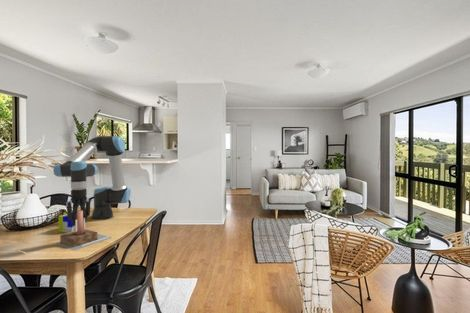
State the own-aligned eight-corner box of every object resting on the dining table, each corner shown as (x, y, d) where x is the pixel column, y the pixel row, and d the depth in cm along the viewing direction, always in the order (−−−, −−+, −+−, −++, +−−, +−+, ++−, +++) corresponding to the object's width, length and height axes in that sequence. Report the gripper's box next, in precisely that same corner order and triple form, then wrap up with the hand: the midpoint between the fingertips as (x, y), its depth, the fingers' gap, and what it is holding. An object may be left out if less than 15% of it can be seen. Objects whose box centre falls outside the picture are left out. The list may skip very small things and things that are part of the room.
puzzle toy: (71, 232, 160) (71, 217, 160) (58, 231, 162) (58, 216, 162) (84, 228, 170) (84, 213, 170) (71, 227, 172) (71, 212, 172)
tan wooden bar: (80, 237, 145) (80, 209, 145) (84, 238, 143) (84, 210, 143) (73, 239, 142) (73, 211, 141) (77, 240, 140) (77, 211, 140)
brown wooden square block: (83, 236, 151) (83, 228, 151) (97, 239, 145) (97, 232, 145) (60, 243, 140) (60, 235, 140) (74, 247, 134) (74, 239, 134)
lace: (107, 237, 149) (107, 236, 149) (108, 237, 149) (108, 236, 149) (80, 246, 135) (80, 245, 135) (81, 246, 135) (81, 245, 135)
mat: (91, 233, 158) (91, 232, 158) (112, 238, 149) (112, 237, 149) (52, 244, 139) (52, 243, 139) (74, 251, 129) (74, 250, 129)
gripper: (89, 186, 151) (89, 225, 152) (58, 190, 136) (59, 233, 137) (97, 187, 148) (97, 227, 148) (67, 191, 133) (67, 235, 133)
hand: (79, 230), depth 142 cm, fingers closed on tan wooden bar, 4 cm apart
